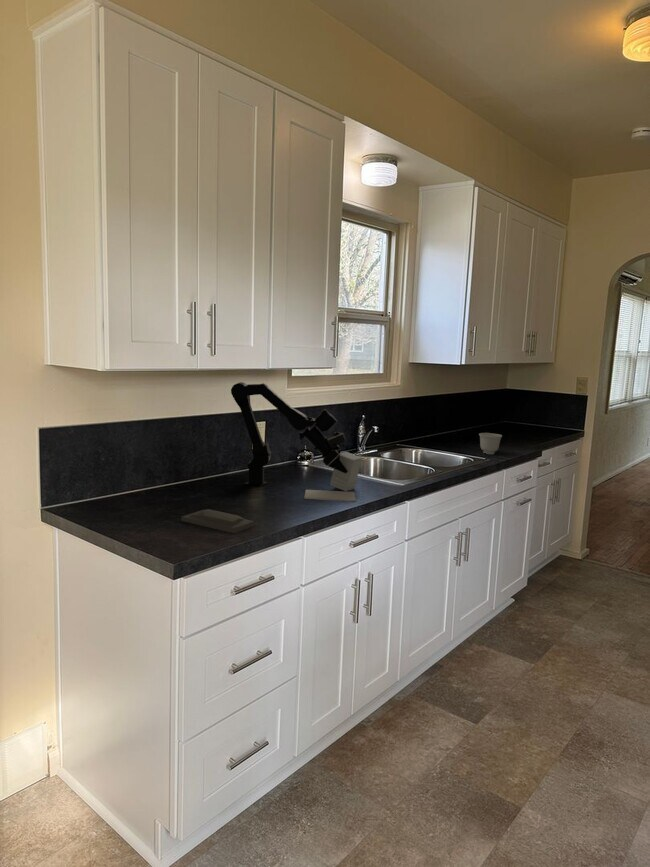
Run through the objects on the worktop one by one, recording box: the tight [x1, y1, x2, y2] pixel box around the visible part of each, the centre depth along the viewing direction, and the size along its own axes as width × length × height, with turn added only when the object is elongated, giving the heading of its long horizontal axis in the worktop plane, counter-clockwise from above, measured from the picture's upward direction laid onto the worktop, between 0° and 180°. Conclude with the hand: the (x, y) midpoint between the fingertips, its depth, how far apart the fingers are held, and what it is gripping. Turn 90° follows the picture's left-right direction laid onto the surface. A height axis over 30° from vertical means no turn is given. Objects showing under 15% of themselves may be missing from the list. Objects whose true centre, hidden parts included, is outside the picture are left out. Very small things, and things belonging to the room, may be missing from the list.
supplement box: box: [329, 451, 363, 492], centre depth 246 cm, size 7×7×13 cm
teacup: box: [478, 432, 503, 455], centre depth 343 cm, size 12×15×10 cm
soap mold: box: [180, 508, 256, 534], centre depth 196 cm, size 10×20×4 cm, turn 60°
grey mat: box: [303, 489, 356, 502], centre depth 235 cm, size 18×12×1 cm, turn 89°
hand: (346, 470), depth 246 cm, fingers closed on supplement box, 9 cm apart
